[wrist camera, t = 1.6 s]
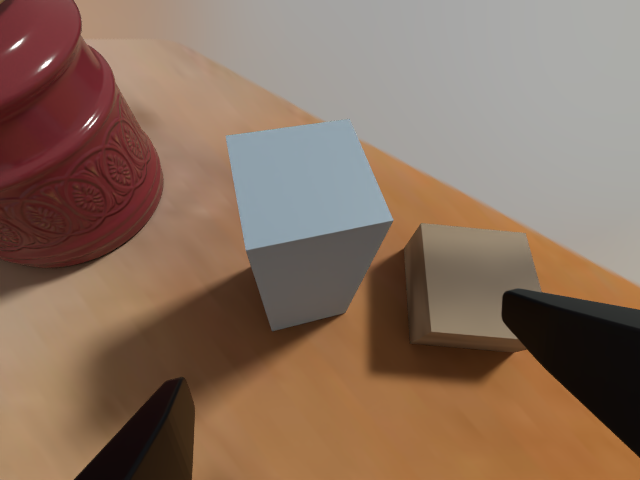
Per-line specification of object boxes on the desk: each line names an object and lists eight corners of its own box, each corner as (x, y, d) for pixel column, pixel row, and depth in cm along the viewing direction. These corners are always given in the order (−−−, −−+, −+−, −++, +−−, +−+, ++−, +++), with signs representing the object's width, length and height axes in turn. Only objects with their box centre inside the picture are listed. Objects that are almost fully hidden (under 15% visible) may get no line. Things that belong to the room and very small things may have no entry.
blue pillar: (345, 313, 21) (393, 220, 11) (271, 331, 20) (245, 250, 10) (325, 248, 23) (349, 118, 13) (258, 262, 23) (225, 135, 12)
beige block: (511, 353, 21) (555, 342, 18) (408, 344, 21) (431, 331, 17) (492, 258, 24) (525, 233, 21) (403, 249, 24) (421, 223, 21)
